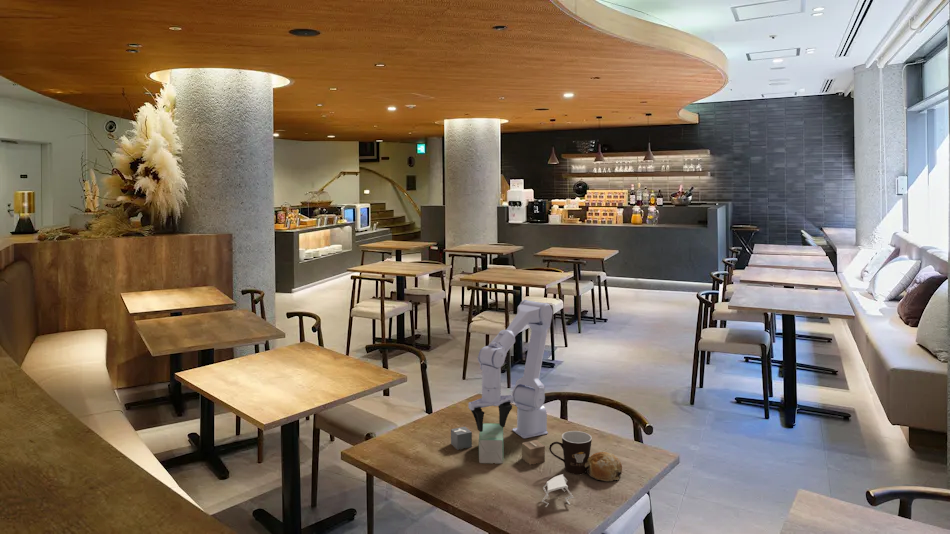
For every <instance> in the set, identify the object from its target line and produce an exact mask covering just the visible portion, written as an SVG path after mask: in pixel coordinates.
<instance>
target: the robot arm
mask: <svg viewBox="0 0 950 534" xmlns="http://www.w3.org/2000/svg"><path fill="white" fill-rule="evenodd" d="M516 311H517V312H516V315H515V316H514V317H513V319H512V320H511V322H510V323H509V325H508V326H507V328H506V329H502V330H500V331H499V332H498V333H497V334H496V336H494V338H493V339H492V340H491V342H489V344H488V345H486V346H483V347H482V348H480V350H479V351H478V356H477V362H478V364H479V369H480V370H481V398H478V399H475V400H473V401H469V402H468V409H469V410H470V412H471V413H472V415H473V417H474V420H475V424H476V429H477V430H478V431H479V433H480V432H482V431H483V423H484V416H485V411H483V408H487V407H497V408H498V412H499V413H498V414H499V416H498V418H499V420H498V421H499V422H498V424H500V426H502V427H503V428H505V427H506V423H507V419H508V416H509V414H510V413H511V411H512V409H513V405H512V404H513V403H514V406H515V407H517V410H516V411H517V412H516V414H517V415H516V420H517V421H516V423H517V424H516V427H514V428H512V429H511V431H513V432H514V433H515V434H517V435H518V436H519V437H521V438H522V439H528V438H534V437H537V436H543V435H546V434H547V435H548V433H549V432H548V431H547V430H548V414H547V413H548V412H547V409H546V407H545V406H544V404H545V400H546V396H545V395H546V394H545V392H546V390H545V389H546V387H545V385H544V383H543V382H541V380H540V375H541V369H542V364H543V358H544V353H545V348H546V342H547V336H548V332H549V331H548V330H549V329H550V328H551V323H552V318H553V313H554V311H553V308H552V306H551V304H549V303H548V302H539V301H535V300H534V301H532V300H528V299H523V300H522V301H520V303H519V305H518V306H517V310H516ZM527 325H528V326H529V327H530V330H531V331H530V338H529V343H528V347H527V353H526V360H525V364H524V370H523V374H522V375H523V376H522V377H520V378H519V379H517V380H515V386H514V388H513V389H512V391H511V394H508V395H501V393H502V392H501V389H502V388H501V387H502V386H501V385H502V384H501V383H502V381H501V380H502V379H501V378H502V377H501V371H502V370H501V368H502V366H503V365H504V363H505V360H506V357H507V353H508V351H510V349H511V348H512V346H513V345H514V344H515V343H516V336H518V334H519V333H520V332H521V331H522V330H523V329H524V328H525V327H526V326H527Z"/></svg>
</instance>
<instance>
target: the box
mask: <svg viewBox="0 0 950 534" xmlns="http://www.w3.org/2000/svg"><path fill="white" fill-rule="evenodd" d="M478 436H479V437H478V462H479V463H480V464H493V463H495V464H498V465H499V464H503V463H504V427H502V426H500V424H499V423H495V422H494V423H490V422H489V423H488V422H487V423H484V422H483V431H482V432H480V431H479V435H478Z"/></svg>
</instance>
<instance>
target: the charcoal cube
mask: <svg viewBox="0 0 950 534" xmlns="http://www.w3.org/2000/svg"><path fill="white" fill-rule="evenodd" d="M472 434H473V433H472V431H471V430H470V429H469V428H468V427H466V426H461V427H456V428H451V429H450V445H451V446H453V448H454V449H456V450H457V451H459V449H460V450H463V448H465V449H467V448H472V447H473V446H472V445H473V435H472Z"/></svg>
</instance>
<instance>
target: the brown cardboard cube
mask: <svg viewBox="0 0 950 534" xmlns="http://www.w3.org/2000/svg"><path fill="white" fill-rule="evenodd" d="M545 456H546V446H545V444H543V443H541V442H539V440H537V439H533V440H529V441H525V442H521V459H522V460H523V461H524V460H525V461H524V462H525V463H527V464H528V463H529V464H528V465H530V466H532V465H531V464H533V465H537V464H541V463H545V461H546V459H545V458H546V457H545ZM536 463H537V464H536Z"/></svg>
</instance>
